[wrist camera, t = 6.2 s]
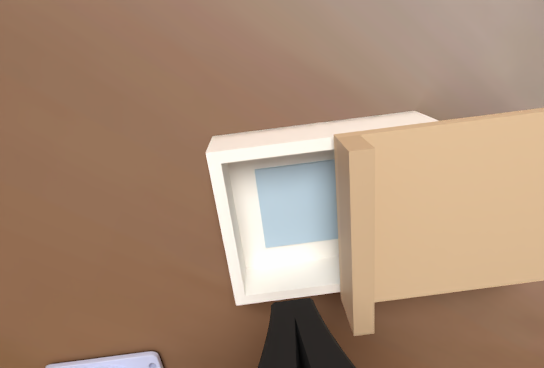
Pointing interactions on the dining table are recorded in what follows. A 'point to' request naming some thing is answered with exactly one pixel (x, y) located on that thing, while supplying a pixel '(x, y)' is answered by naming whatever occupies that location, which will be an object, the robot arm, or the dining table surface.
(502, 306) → the dining table surface
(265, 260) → the box
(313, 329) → the robot arm
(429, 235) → the lid
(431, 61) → the dining table surface
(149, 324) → the dining table surface
